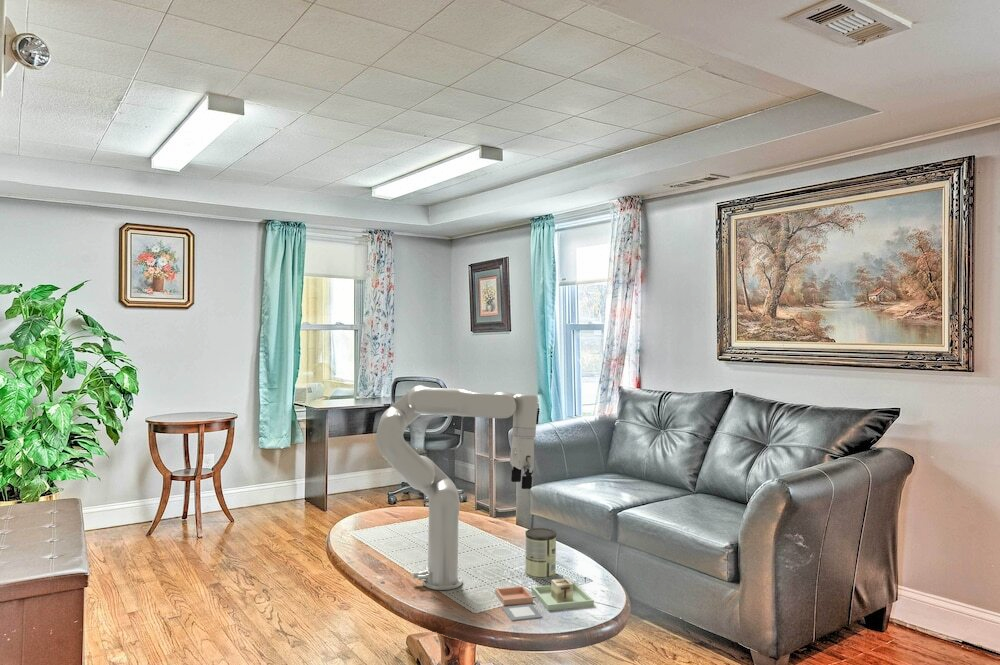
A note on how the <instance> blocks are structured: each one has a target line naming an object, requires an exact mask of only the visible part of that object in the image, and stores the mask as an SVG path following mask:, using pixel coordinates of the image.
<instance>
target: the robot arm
mask: <svg viewBox="0 0 1000 665" xmlns="http://www.w3.org/2000/svg"><path fill="white" fill-rule="evenodd" d="M538 402H539V400H538V397H537V396H536V394H534V393H533V394H532V393H514V392H513V393H512V392H507V391H497V392H495V393H480V392H473V391H470V390H466V389H463V388H445V387H444V388H443V387H442V388H441V387H428V386H426V385H422V384H421V385H416V386H414V387H412V388H411V389H410V390H409V391H408V392H406V394H404V395H403V396H402V397H401V398H400V399H398V400H397V401H395V402H394V403H393V404H392V405H391V406H389V408H387V409H386V410H385V411H384V412H383V413H382V415H381V417H380V419H379V423H378V425H377V429H376V433H375V442H376V446H377V449H378V451H379V454H380V455H381V456H382V457H383V458H384V459H385V461H387V463H388V464H389V465H390V466H391V467H392V468H393V469H394V471H396V472H397V473H398V474H399V475H400V477H402V478H403V480H404V481H405V482H406V483H407V484H408V485H409V486H410V487H411V488H413V489H414V490H417V491H420V492H421V493H422V494H424V495H425V497H427V499H428V527H427V528H428V531H427V534H428V541H427V542H428V545H427V547H428V548H427V550H428V551H427V566H426V567H425V569H423V570H422V571H413V572H412V578H413V579H417V580H418V581H422V585H423V586H424V587H425V588H427V589H430V590H436V591H448V590H454V589H457V588H459V587H460V586H462V584H463V577H461V576H460V575H458V574H459V570H458V569H459V524H460V523H459V518H460V517H459V516H460V506H461V503H460V501H461V500H460V496H459V492H458V489H457V486H456V485H455V483H454V482H453V480H452V479H451V478H450V477H449V476H448V475H447V474H446V473H445V472H444V471H443V470H442V469H441V468H440V467H439V465H438V466H437V464H436V463H435V462H434V461H433V460H432V459H430V458H429V457H428V456H425V455H421V454H419V453H418V452H417V451H416V450H415V449H414V448H413V447H412V446H411V445H410V444H409V443H408V442H407V441H406V440H405V437H404V433H405V431H406V429H407V427H408V426H409V425H410V424H411V423H412V422H414V421H415V420H416V419H417V418H418V417H420V416H421V415H433V416H434V415H435V416H436V415H439V416H459V417H470V418H482V419H484V418H485V419H507V418H508V419H509V418H510V417H512V432H511V433H512V438H511V439H512V440H511V445H510V447H511V448H510V456H509V463H510V465H511V477H510V478H511V479H510V481H511V483H512V482H513V483H520V482H521V489H522V490H531V489H532V485H533V473H534V468H535V467H534V466H535V464H534V459H535V458H534V457H535V438H536V436H537V435H536V434H537V417H538V414H537V413H538ZM522 474H523V475H522Z"/></svg>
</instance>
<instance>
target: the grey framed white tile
mask: <svg viewBox="0 0 1000 665" xmlns="http://www.w3.org/2000/svg"><path fill="white" fill-rule="evenodd" d="M502 610H503V611H504V613H505V614H506V616H507V617H508V618H509V619H510V620H511V622H515V621H516V622H517V621H524V620H526V621H527V620H533V619H542V618H543V616H542V614H541V613H540V611H538V610H537V608H536V607H535V606H534V605H533V603H529V604H528V603H527V604H517V605H512V606H511V605H508V606H502Z"/></svg>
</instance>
